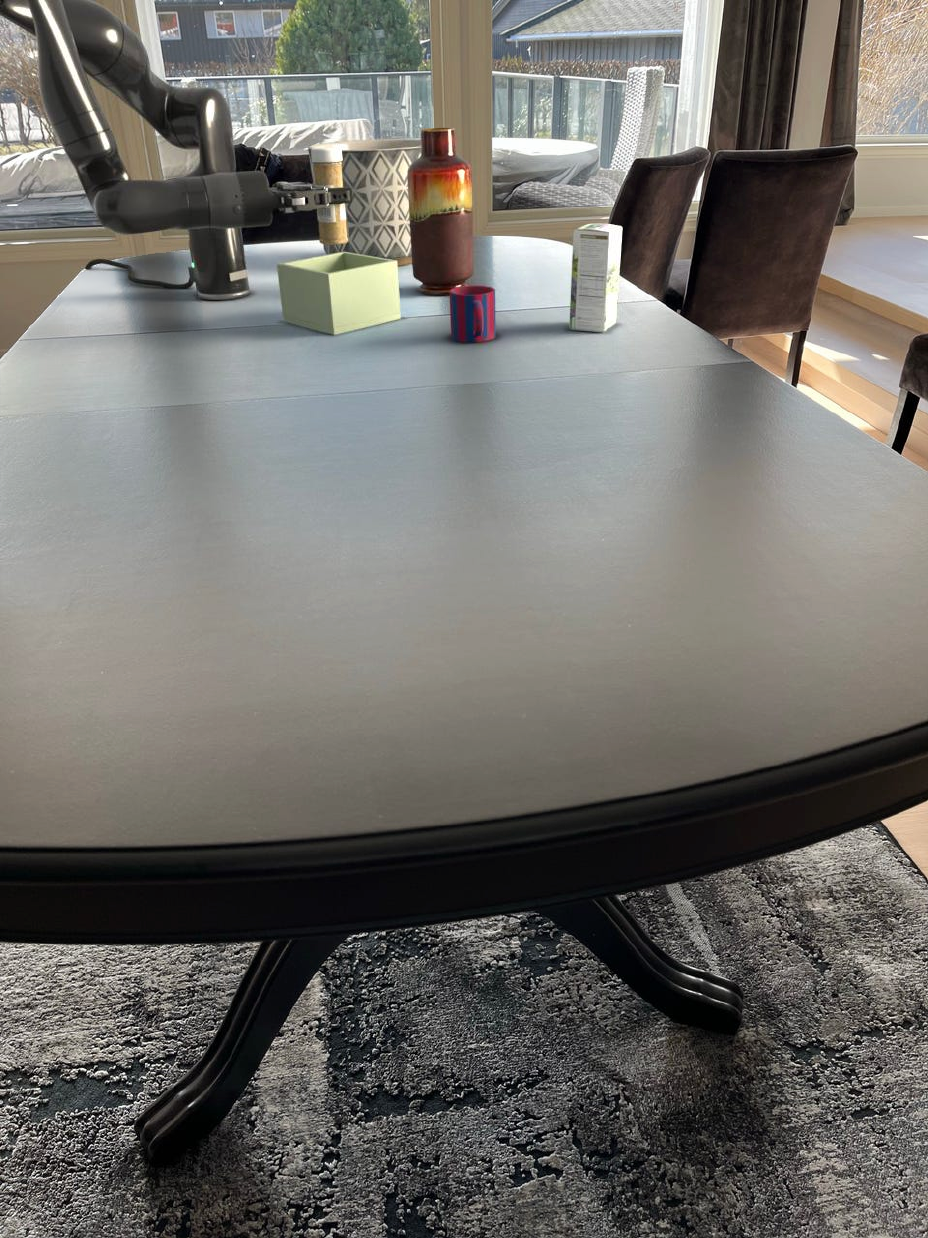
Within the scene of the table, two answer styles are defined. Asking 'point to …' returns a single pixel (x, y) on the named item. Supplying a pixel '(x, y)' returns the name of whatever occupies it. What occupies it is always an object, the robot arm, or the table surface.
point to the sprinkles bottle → (329, 177)
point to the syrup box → (595, 277)
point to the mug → (472, 313)
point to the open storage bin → (339, 292)
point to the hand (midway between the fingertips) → (346, 193)
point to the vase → (440, 214)
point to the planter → (376, 196)
